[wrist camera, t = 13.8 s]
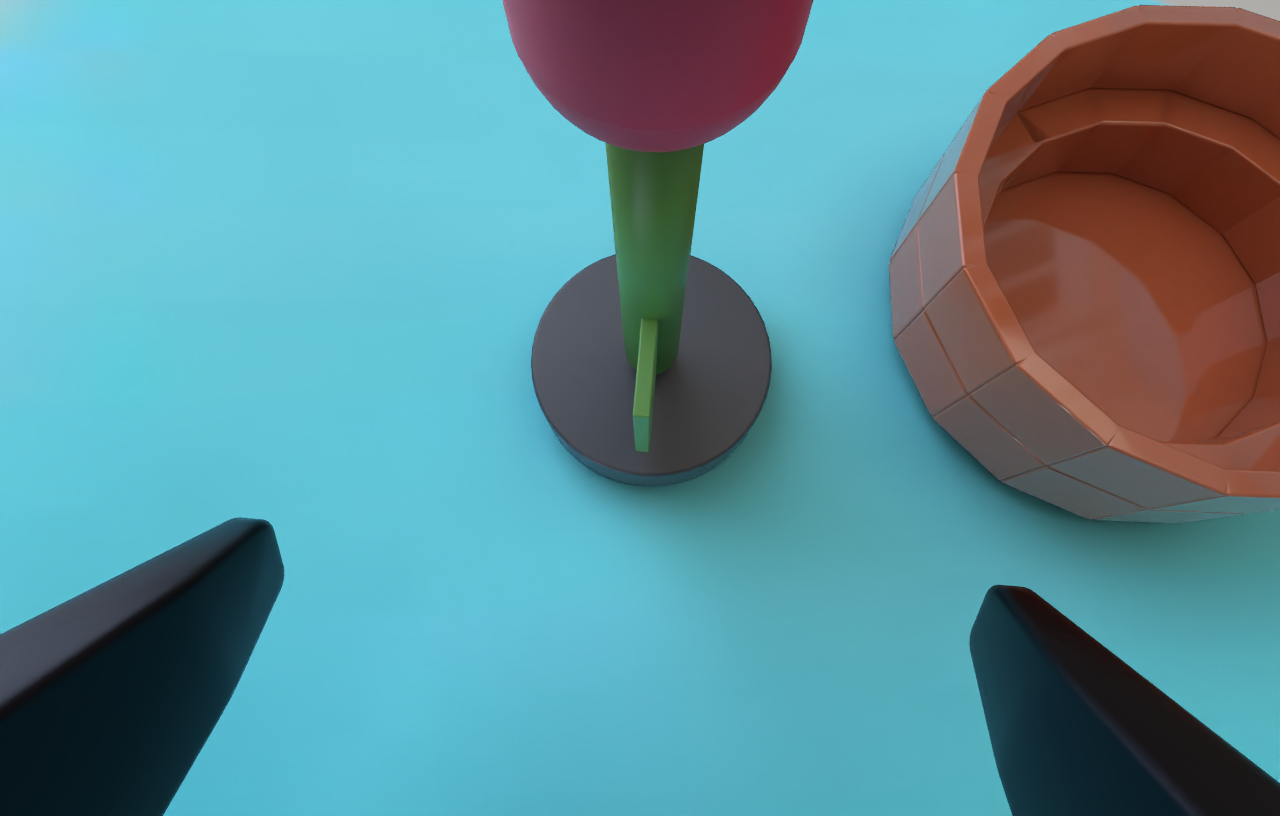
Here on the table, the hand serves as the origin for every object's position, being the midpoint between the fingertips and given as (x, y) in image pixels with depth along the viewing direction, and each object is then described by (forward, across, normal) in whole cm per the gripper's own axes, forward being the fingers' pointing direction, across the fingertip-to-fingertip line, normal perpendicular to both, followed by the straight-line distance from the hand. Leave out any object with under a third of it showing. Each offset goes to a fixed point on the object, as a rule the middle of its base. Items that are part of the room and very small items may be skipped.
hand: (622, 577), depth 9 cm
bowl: (+11, -11, 0) cm, 16 cm away
